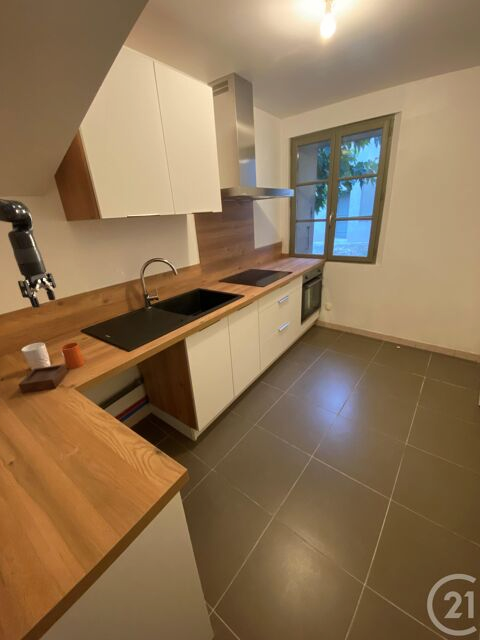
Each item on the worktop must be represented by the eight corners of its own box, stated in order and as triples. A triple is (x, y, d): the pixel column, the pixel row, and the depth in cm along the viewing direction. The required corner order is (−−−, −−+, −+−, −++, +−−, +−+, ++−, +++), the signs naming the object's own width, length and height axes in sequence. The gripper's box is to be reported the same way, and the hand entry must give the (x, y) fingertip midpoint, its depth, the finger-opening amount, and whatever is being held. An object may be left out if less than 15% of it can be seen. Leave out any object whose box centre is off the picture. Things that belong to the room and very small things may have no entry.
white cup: (32, 374, 106) (23, 353, 102) (28, 368, 111) (19, 347, 107) (54, 366, 111) (46, 345, 108) (49, 360, 116) (42, 340, 113)
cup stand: (22, 393, 94) (18, 384, 93) (37, 377, 104) (34, 368, 103) (55, 388, 96) (52, 379, 94) (67, 372, 106) (64, 364, 105)
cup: (64, 370, 108) (57, 350, 105) (70, 362, 114) (63, 343, 111) (81, 367, 109) (75, 348, 106) (86, 359, 115) (80, 341, 112)
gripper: (34, 258, 101) (48, 298, 106) (2, 264, 87) (20, 310, 93) (53, 257, 100) (66, 297, 106) (24, 263, 87) (41, 309, 93)
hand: (44, 303), depth 100 cm, fingers open, 8 cm apart
